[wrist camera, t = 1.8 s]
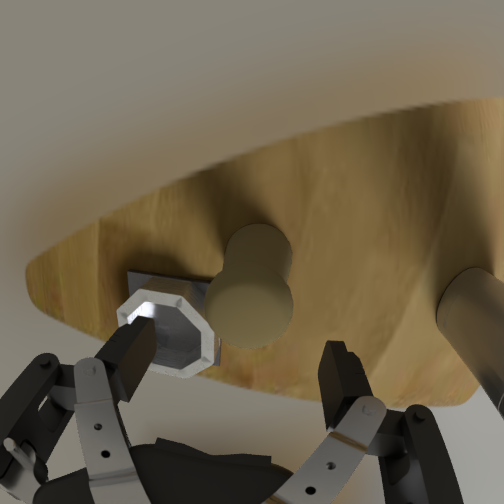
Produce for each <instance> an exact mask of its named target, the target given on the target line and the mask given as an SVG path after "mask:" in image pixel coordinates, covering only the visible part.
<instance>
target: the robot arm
mask: <svg viewBox="0 0 504 504" xmlns="http://www.w3.org/2000/svg"><path fill="white" fill-rule="evenodd" d="M437 325H438V328H439V330H440V332H441V333H442V334H443V335H444V337H445V338H446V339H447V340H448V342H449V343H450V344H451V346H452V347H453V348H454V350H455V351H456V352H457V354H458V355H459V356H460V357H461V359H462V360H463V361H464V363H465V364H466V365H467V367H468V368H469V369H470V371H471V372H472V374H473V375H474V376H475V378H476V379H477V381H478V382H479V383H480V385H481V386H482V388H483V389H484V391H485V392H486V394H487V395H488V397H489V398H490V400H491V401H492V403H493V404H494V406H495V407H496V409H497V410H498V412H499V413H500V415H501V416H502V418H503V420H504V283H503V282H502V281H500V280H499V279H497V278H496V277H494V276H493V275H491V274H490V273H488V272H486V271H485V270H483V269H481V268H477V267H475V268H470V269H467V270H465V271H464V272H462V273H461V274H459V275H458V276H457V277H456V278H455V279H454V280H453V281H452V282H451V284H450V285H449V286H448V287H447V289H446V291H445V293H444V294H443V296H442V299H441V301H440V303H439V307H438V310H437ZM156 351H157V340H156V331H155V322H154V319H153V318H150V317H145V316H140V315H138V316H137V317H136V318H135V319H134V320H133V321H132V323H131V324H129V323H126V324H124V325H123V326H121V327H119V328H118V329H117V330H116V331H115V333H114V334H113V335H112V336H111V337H110V339H109V341H107V342H106V343H105V345H104V346H103V347H102V348H101V349H100V351H99V352H98V353H97V354H96V355H95V357H94V358H91V357H89V358H84V359H81V360H80V361H78V362H77V363H76V364H75V365H65V364H60V362H59V360H58V358H57V357H56V355H54V354H51V353H43V354H40V355H38V356H37V357H35V358H34V359H33V361H32V362H31V363H30V364H29V365H28V366H27V367H26V369H25V370H24V371H23V372H22V373H21V374H20V376H19V377H18V378H17V379H16V380H15V381H14V383H13V384H12V385H11V386H10V387H9V389H8V390H7V391H6V392H5V394H4V395H3V396H2V397H1V399H0V488H1V489H2V490H4V491H6V492H7V493H9V494H10V495H11V496H13V497H14V498H16V499H18V500H22V501H24V502H25V503H27V504H331V503H332V501H333V500H334V499H335V497H336V496H337V495H338V494H339V492H340V491H341V490H342V488H343V487H344V485H345V484H346V483H347V481H348V480H349V478H350V477H351V475H352V474H353V472H354V471H355V469H356V468H357V466H358V465H359V463H360V462H361V460H362V458H363V457H364V455H365V454H368V455H375V456H378V460H379V465H380V471H381V477H382V483H383V490H384V497H385V504H464V503H463V499H462V495H461V492H460V489H459V485H458V481H457V478H456V475H455V472H454V469H453V466H452V463H451V460H450V457H449V454H448V451H447V449H446V446H445V443H444V440H443V438H442V435H441V433H440V430H439V428H438V425H437V423H436V420H435V418H434V415H433V414H432V412H431V410H430V409H428V408H427V407H425V406H423V405H419V404H415V405H411V406H409V407H408V408H407V409H406V411H405V412H400V411H394V410H389V409H386V406H385V404H384V403H383V402H382V401H381V400H380V399H378V398H376V397H374V396H373V393H372V390H371V388H370V385H369V382H368V379H367V377H366V375H365V371H364V369H363V366H362V363H361V361H360V359H359V358H358V357H357V356H356V355H355V354H354V352H347V349H346V346H345V343H344V341H329V340H328V341H327V342H326V345H325V348H324V351H323V355H322V358H321V361H320V364H319V369H318V380H319V386H320V392H321V398H322V404H323V410H324V417H325V423H326V430H327V432H330V433H329V435H328V436H327V437H326V438H325V439H324V441H323V442H322V443H321V444H320V445H319V447H318V448H317V449H316V450H315V451H314V453H313V454H312V455H311V456H310V457H309V458H308V459H307V460H306V461H305V463H304V464H303V465H302V466H301V467H300V468H299V469H298V470H297V471H296V472H295V473H293V472H291V471H290V470H288V469H286V468H284V467H281V466H279V465H276V464H273V463H271V456H262V455H252V454H231V455H209V454H207V453H204V452H202V451H199V450H197V449H194V448H192V447H190V446H187V445H185V444H182V443H177V442H174V441H170V440H166V439H161V438H157V440H156V443H155V444H142V445H136V446H132V445H131V443H130V440H129V438H128V435H127V432H126V430H125V427H124V424H123V421H122V418H121V415H120V412H119V408H118V403H119V401H120V400H122V401H125V402H129V401H130V400H131V398H132V396H133V394H134V392H135V390H136V388H137V387H138V385H139V383H140V382H141V380H142V378H143V376H144V374H145V373H146V371H147V369H148V367H149V366H150V364H151V362H152V360H153V358H154V357H155V354H156ZM46 396H47V400H46V401H45V403H44V404H43V406H42V407H41V408H40V410H39V411H38V408H39V405H40V404H41V402H42V401H43V400H44V398H45V397H46ZM74 412H75V415H76V421H77V427H78V433H79V438H80V442H81V447H82V452H83V456H84V460H85V464H86V467H85V468H83V469H80V470H78V471H75V472H72V473H70V474H67V475H65V476H62V477H59V478H56V479H53V480H50V481H49V478H48V468H47V465H46V463H47V460H48V459H49V457H50V455H51V453H52V451H53V449H54V447H55V445H56V444H57V442H58V440H59V438H60V436H61V435H62V433H63V431H64V429H65V427H66V426H67V424H68V422H69V420H70V419H71V417H72V415H73V414H74ZM332 431H333V432H332Z"/></svg>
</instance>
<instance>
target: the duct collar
mask: <svg viewBox="0 0 504 504" xmlns="http://www.w3.org/2000/svg"><path fill="white" fill-rule="evenodd" d="M127 275H128V286H129V296H130V298H129V299H128V300H127V301H126V302H125V303H124V304H123V305H122V306H121V307H120V308H119V309H118V310H117V317H118V323H119V327H121V326H123V325H124V324H126V323H129V324H131V323H132V321H133V320H134V319H135V318H136V317H137V316H138V315H140V316H145V317H150V318H153V319H154V322H155V331H156V340H157V351H156V354H155V357H154V358H153V360H152V362H151V364H150V366H149V367H148V369H149V370H151V371H154V372H158V373H162V374H166V375H171V376H175V377H180V378H185V379H187V378H189V377H191V376H193V375H194V374H196V373H198V372H200V371H202V370H204V369H205V368H207V367H209V366H211V365H215V366H219V365H220V353H221V339H220V338H219V337H218V336H217V335H216V334H215V333H214V331H213V330H212V329H211V328H210V326H209V324H208V322H207V320H206V317H205V310H204V298H205V295H206V292H207V288H208V286H209V285H210V283H211V282H212V281H205V280H198V279H190V278H183V277H176V276H169V275H163V274H156V273H150V272H143V271H137V270H131V269H130V270H128V271H127Z"/></svg>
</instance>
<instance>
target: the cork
mask: <svg viewBox="0 0 504 504" xmlns="http://www.w3.org/2000/svg"><path fill="white" fill-rule="evenodd" d="M291 264H292V250H291V246H290V243H289V241H288V240H287V238H286V237H285V235H284V234H283V233H282V232H280V231H279V230H278V229H276V228H275V227H272V226H269V225H267V224H250V225H247V226H244V227H242V228H241V229H239V230H238V231H236V232H235V233H234V234H233V236H232V237H231V238H230V240H229V241H228V244H227V247H226V251H225V257H224V264H223V270H222V271H221V272H220V273H218V274H217V275H216V277H215V278H214V279H213V280H212V282H211V283H210V285H209V286H208V288H207V292H206V295H205V298H204V310H205V317H206V320H207V322H208V324H209V326H210V328H211V329H212V330H213V331H214V333H215V334H216V335H217V336H218V337H219V338H220V339H221V340H223V341H224V342H226V343H228V344H229V345H232V346H235V347H238V348H244V349H255V348H260V347H264V346H266V345H268V344H270V343H272V342H274V341H276V340H277V339H278V338H279V337H280V336H281V335H282V334H283V333H284V332H285V331H286V329H287V327H288V325H289V323H290V321H291V318H292V314H293V299H292V295H291V291H290V288H289V286H288V285H287V280H288V276H289V272H290V268H291Z"/></svg>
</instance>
